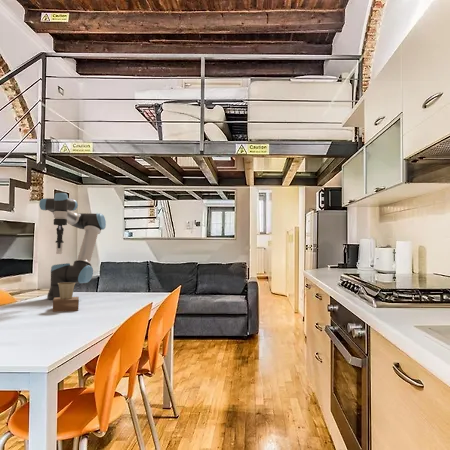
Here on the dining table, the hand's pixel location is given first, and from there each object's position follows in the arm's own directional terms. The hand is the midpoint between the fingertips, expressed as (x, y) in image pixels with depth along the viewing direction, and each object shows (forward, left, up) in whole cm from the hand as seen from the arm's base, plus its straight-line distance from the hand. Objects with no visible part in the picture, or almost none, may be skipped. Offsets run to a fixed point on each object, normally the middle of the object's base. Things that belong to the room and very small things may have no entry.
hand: (59, 253), depth 241 cm
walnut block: (+19, +5, -31) cm, 36 cm away
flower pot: (+19, +5, -25) cm, 31 cm away
